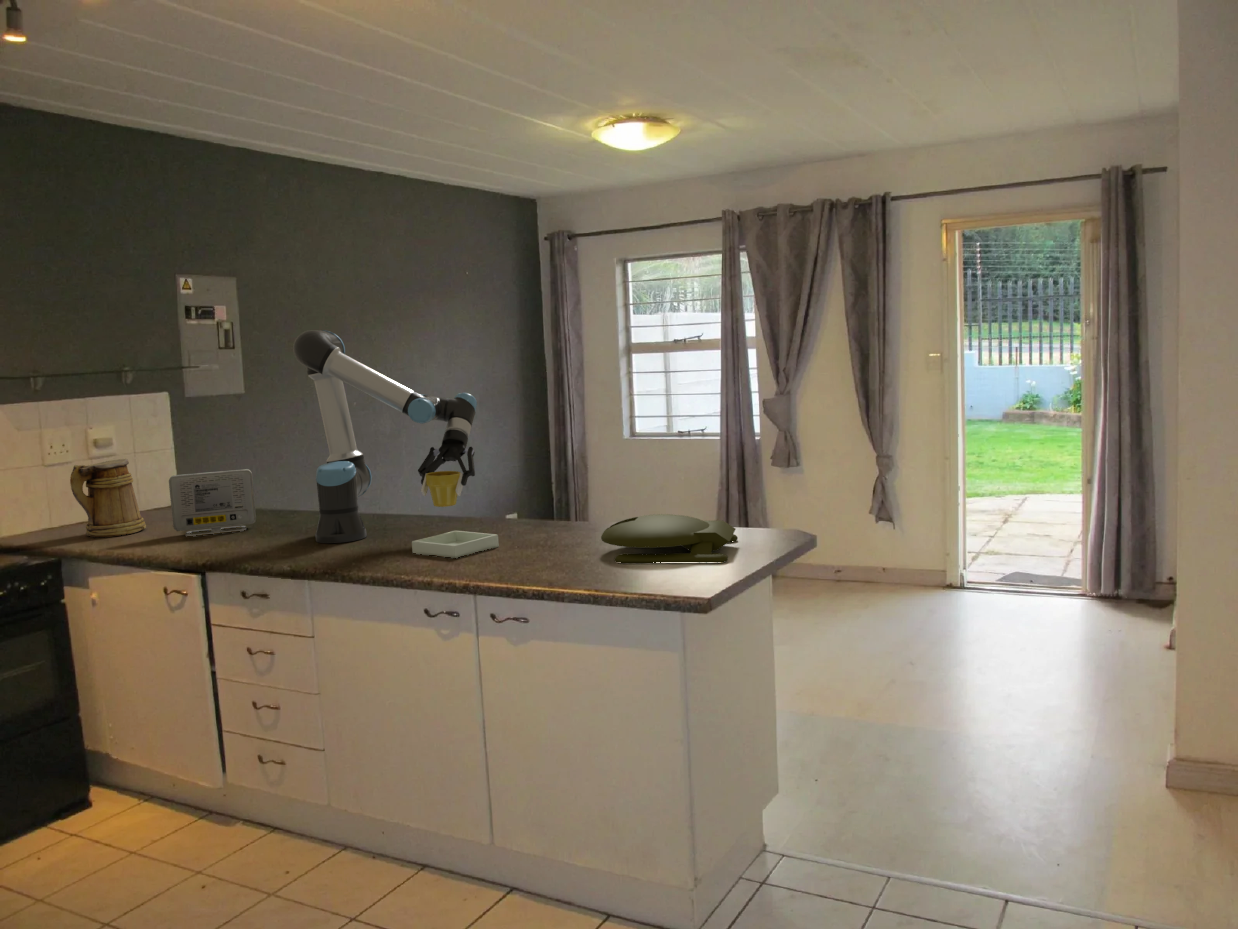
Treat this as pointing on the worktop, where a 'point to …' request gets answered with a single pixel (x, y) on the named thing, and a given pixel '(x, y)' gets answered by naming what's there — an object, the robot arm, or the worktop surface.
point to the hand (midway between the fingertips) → (440, 493)
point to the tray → (455, 544)
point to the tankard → (107, 498)
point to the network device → (212, 501)
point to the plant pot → (443, 487)
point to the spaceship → (670, 538)
